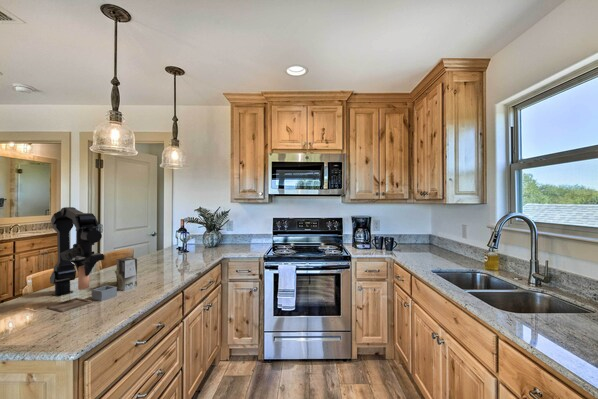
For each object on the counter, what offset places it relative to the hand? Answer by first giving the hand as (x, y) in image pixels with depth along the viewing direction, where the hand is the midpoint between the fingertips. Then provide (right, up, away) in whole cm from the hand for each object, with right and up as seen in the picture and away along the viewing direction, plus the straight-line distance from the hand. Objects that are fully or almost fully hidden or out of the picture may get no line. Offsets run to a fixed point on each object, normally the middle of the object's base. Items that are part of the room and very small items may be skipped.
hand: (83, 275), depth 122 cm
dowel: (0, -6, 0) cm, 6 cm away
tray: (-3, -13, -4) cm, 14 cm away
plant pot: (0, -13, +28) cm, 31 cm away
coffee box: (+6, -13, +21) cm, 25 cm away
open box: (+5, -13, +6) cm, 15 cm away
